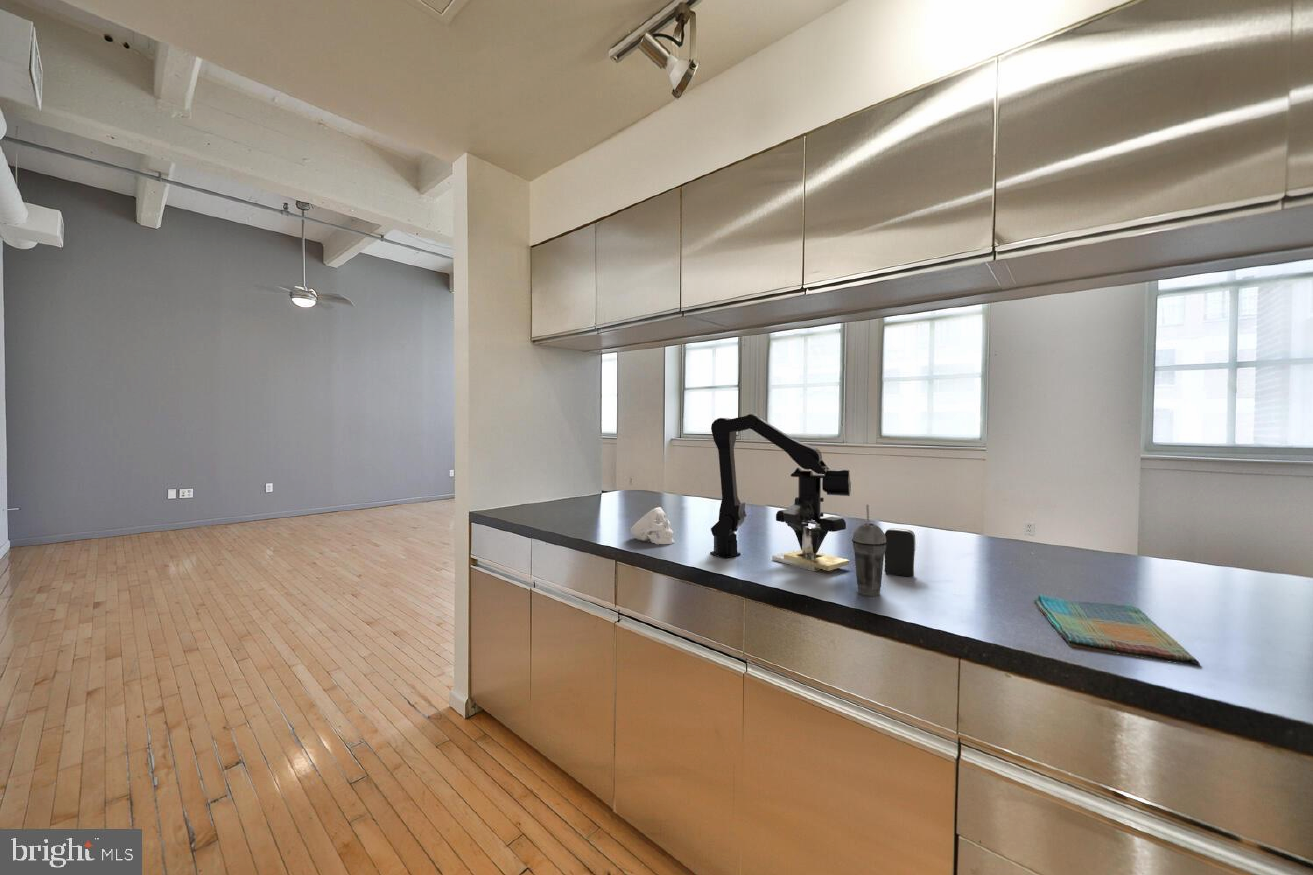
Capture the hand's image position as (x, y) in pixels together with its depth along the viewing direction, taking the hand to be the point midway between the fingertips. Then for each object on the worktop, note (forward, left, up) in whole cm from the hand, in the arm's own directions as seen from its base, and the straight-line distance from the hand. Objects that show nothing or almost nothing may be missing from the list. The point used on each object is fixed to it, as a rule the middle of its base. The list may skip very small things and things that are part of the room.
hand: (809, 551), depth 135 cm
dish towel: (+59, +8, -4) cm, 60 cm away
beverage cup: (+22, -8, -4) cm, 24 cm away
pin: (0, 0, -2) cm, 2 cm away
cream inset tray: (0, 0, -4) cm, 4 cm away
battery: (+19, +11, -4) cm, 22 cm away
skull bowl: (-48, -18, -4) cm, 51 cm away
